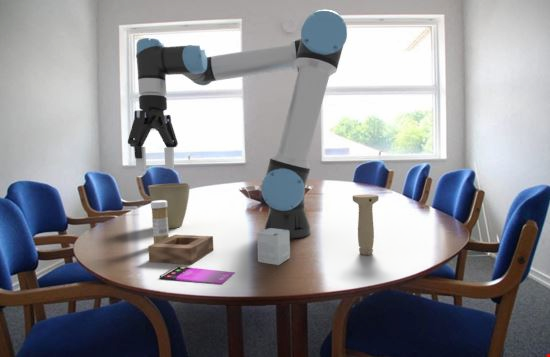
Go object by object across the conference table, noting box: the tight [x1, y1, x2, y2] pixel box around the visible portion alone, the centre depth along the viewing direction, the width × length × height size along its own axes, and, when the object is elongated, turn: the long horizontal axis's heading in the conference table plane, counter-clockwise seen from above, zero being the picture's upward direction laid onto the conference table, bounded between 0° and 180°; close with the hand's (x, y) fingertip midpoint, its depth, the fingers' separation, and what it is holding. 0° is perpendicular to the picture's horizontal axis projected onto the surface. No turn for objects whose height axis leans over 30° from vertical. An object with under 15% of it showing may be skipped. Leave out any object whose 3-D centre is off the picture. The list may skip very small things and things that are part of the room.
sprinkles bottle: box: [150, 200, 170, 244], centre depth 98 cm, size 5×5×14 cm
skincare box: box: [256, 228, 291, 266], centre depth 82 cm, size 6×6×7 cm
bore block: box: [148, 234, 214, 266], centre depth 88 cm, size 12×12×4 cm
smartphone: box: [159, 265, 236, 286], centre depth 73 cm, size 7×15×1 cm, turn 73°
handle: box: [352, 193, 379, 256], centre depth 84 cm, size 5×6×15 cm
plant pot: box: [147, 182, 191, 230], centre depth 125 cm, size 15×15×16 cm
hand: (156, 169), depth 97 cm, fingers open, 13 cm apart
